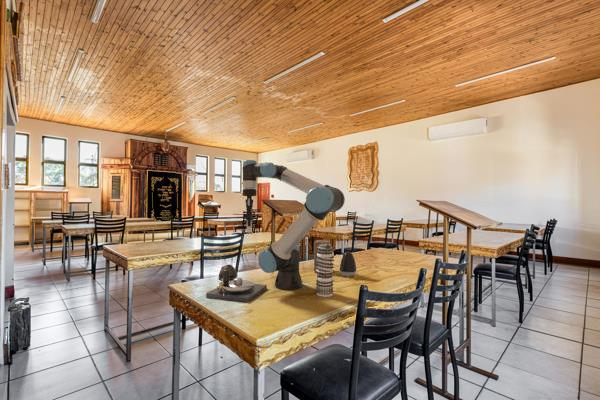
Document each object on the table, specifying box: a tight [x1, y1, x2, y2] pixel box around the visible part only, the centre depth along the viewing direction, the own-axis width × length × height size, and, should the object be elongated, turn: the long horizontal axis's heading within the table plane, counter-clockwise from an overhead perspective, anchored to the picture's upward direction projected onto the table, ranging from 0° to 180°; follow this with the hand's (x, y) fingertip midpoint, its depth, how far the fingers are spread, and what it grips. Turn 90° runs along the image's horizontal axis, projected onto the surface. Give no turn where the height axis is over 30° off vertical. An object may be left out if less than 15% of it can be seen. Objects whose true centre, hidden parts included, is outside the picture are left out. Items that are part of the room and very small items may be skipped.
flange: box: [215, 270, 255, 292], centre depth 149 cm, size 18×16×9 cm
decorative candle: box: [315, 243, 335, 298], centre depth 148 cm, size 9×9×25 cm
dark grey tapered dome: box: [339, 251, 357, 278], centre depth 185 cm, size 10×10×15 cm
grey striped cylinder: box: [313, 239, 331, 273], centre depth 197 cm, size 10×10×20 cm
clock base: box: [205, 281, 268, 303], centre depth 149 cm, size 22×22×7 cm
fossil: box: [218, 263, 238, 281], centre depth 176 cm, size 11×9×10 cm
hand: (249, 232), depth 160 cm, fingers closed
